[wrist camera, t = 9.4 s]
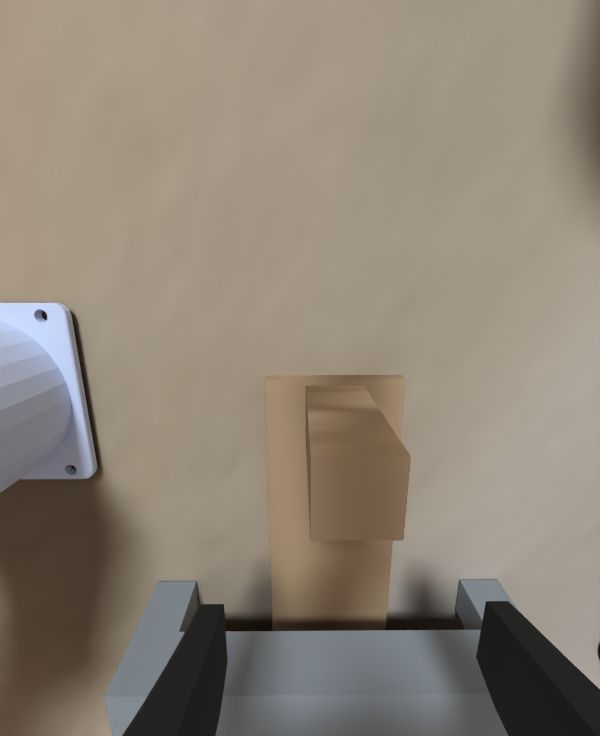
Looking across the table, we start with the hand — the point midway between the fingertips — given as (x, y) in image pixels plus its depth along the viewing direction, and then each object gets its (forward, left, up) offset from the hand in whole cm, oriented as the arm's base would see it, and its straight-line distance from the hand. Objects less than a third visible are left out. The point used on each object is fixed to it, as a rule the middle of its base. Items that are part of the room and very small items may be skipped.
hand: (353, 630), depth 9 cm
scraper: (0, -6, -7) cm, 9 cm away
